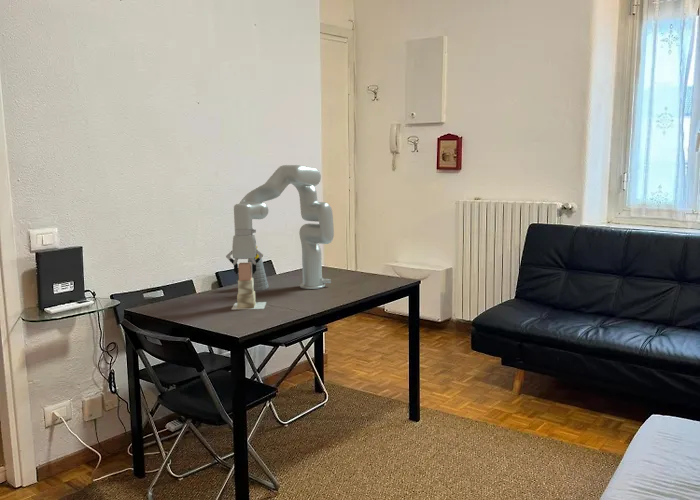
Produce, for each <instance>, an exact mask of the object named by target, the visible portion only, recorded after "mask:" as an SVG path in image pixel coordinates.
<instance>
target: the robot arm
mask: <svg viewBox="0 0 700 500" xmlns="http://www.w3.org/2000/svg"><path fill="white" fill-rule="evenodd" d="M321 175H322V174H321V172H320V171H319V170H318V169H317V168H316V167H310V166H305V165H297V164H284V165H280V166H278V168H277V169H276V170H275V171H274V172H273V173H272V174H271V176H270V177H269V178H268V179H267V181H266V182H264V183H263V184H262V185H259V186H258V187H256V188H255V189H252V190H251V191H250V192H248V193H246V194H245V195H244V197H243V198H242V199H241V200H240V202H239V203H236V204H234V205H233V218H234V219H233V221H234V235H233V237H232V249H231V251H229V252H228V254H227V255H225V258H226V259H227V260H228V261H229V262H230V263H231V264H232V265H233V272H234V273H235V275H239V267H238V264H239V263H238V260H248V259H251V260H252V262H253V265H252V270H253V274H254V273H255V271H256V264H257V262H258V261H259V260H260V259H261V258H262V259H263V256H264V254H263V253H262V252H261V251H259V250H258V247H257V248H256V246H257V242H256V240H257V239H256V235H255V234H257V233H256V232H257V230H256V229H253V220H263V219H265V218H266V217H267V216H268V214H269V207H268V205H267V204H266V203H265V202H268V201H272V200H274V199H277V198H278V197H280V196H281V194H282V193H283V192H284V191H285V190H286V189H287V187H288V186H289V185H290V184H291V185H293V187H295V188H296V190H297V192H298V194H299V195H298V196H299V204H300V216H301V218H302V220H304V221H307V222H308V223H304V224H302V225H301V227H300V229H299V232H298V233H299V239H300V244H301V260H302V261H301V263H302V267H301V268H302V282H301V283H300V284H299V288H301V289H306V290H318V289H323V288H325V286H326V284H332V279H331V278H330V279H329V278H324V277H323V274H322V273H323V272H322V271H323V270H322V264H323V263H322V249H321V246H320V245H319V244H321V245H328V244H331V243H332V241H333V240H334V237H335V236H334V235H335V230H334V214H333V209H332V207H331V205H330V204H329V203H328V202H323V201H319V200H318V194H317V189H316V186H317V185H319V183H321V178H322V176H321ZM309 222H318V223H309ZM257 254H258V255H259V257H258V258H257V259H255V257H256V256H257Z"/></svg>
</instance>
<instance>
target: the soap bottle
mask: <svg viewBox="0 0 700 500" xmlns="http://www.w3.org/2000/svg"><path fill="white" fill-rule="evenodd" d="M256 248H257V249H258V246H257V245H256ZM258 257H259V255H258V254H257V256H256V257H255V259H257V258H258ZM247 262H251V265H253V262H252V260H251V259H247ZM265 270H266V269H265V267H264V262H263V257H262V258H261V259H260V260H259V261H258V262H257V264H256V271H255V273H254V274H253V270H252V278H253V281H254V291H255V292H256V291H257V292H259V291H263V290H264V291H265V290H267V289H269V282H268V279H267V274H266V271H265Z"/></svg>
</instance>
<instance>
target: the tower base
mask: <svg viewBox="0 0 700 500" xmlns="http://www.w3.org/2000/svg"><path fill="white" fill-rule="evenodd" d="M236 301H237V302H236V303H237V305H238V308H254V307H255V305H256V302H257V301H256V291H254V292H253V294H241V295H238V293H237V294H236Z"/></svg>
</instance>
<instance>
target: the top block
mask: <svg viewBox="0 0 700 500" xmlns="http://www.w3.org/2000/svg"><path fill="white" fill-rule="evenodd" d="M237 264H238V280H239V281H246V280H251V279H252V265H251V262H248V261H247V262H245V261H243V262H239V263H237Z"/></svg>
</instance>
